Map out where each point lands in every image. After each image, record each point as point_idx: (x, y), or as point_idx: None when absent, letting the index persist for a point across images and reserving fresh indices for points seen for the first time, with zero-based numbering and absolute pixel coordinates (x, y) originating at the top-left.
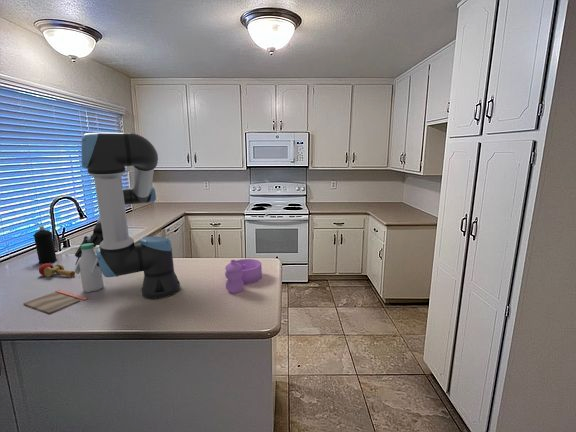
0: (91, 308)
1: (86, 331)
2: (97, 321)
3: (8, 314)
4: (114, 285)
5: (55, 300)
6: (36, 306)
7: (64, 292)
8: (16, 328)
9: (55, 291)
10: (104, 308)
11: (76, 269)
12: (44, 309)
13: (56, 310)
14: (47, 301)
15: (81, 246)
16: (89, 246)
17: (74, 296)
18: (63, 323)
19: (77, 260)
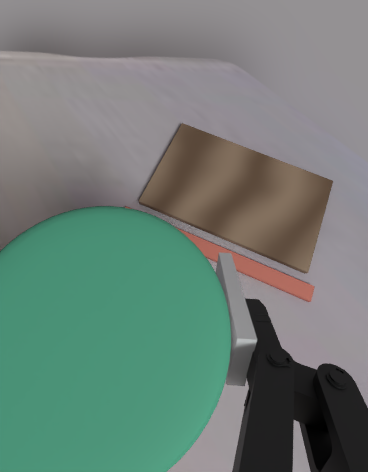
0: (64, 155)
1: (13, 52)
2: (4, 88)
3: (312, 129)
4: None
5: (232, 198)
6: (262, 159)
7: (259, 271)
8: (212, 69)
9: (313, 287)
10: (16, 153)
11: (220, 269)
12: (215, 140)
13: (173, 140)
14: (256, 191)
15: (152, 215)
16: (2, 263)
17: (185, 233)
18: (100, 84)
19: (267, 329)
